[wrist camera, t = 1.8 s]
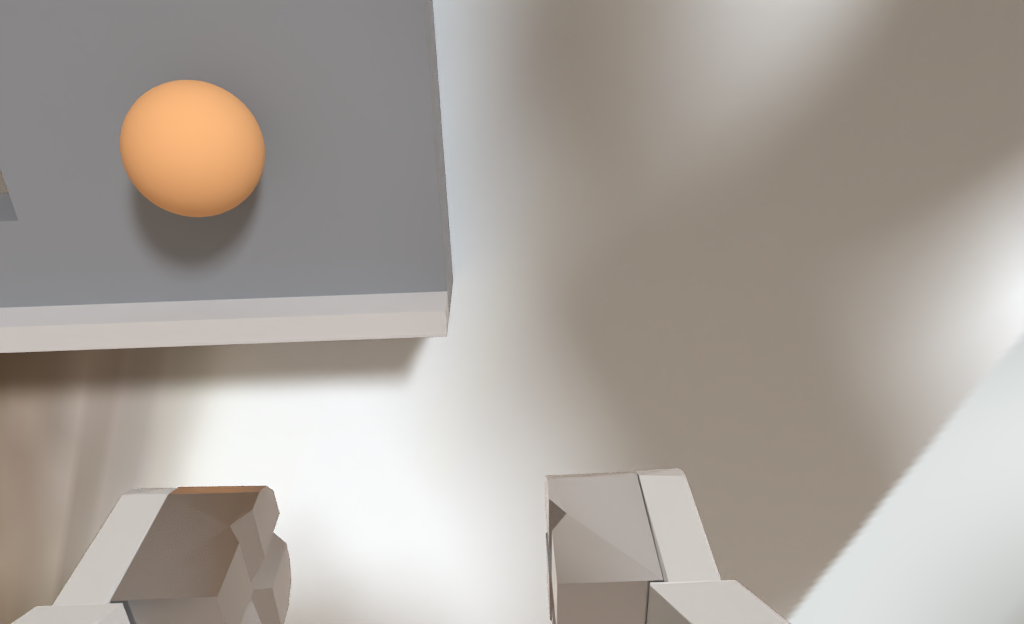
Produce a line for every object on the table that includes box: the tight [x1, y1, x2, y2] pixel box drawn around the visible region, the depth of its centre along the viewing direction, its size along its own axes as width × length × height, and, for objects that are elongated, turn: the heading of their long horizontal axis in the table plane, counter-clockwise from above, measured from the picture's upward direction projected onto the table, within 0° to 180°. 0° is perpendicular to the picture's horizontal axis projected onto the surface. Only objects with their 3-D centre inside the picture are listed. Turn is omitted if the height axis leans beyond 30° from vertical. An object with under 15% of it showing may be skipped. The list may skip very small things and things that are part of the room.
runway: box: [0, 0, 453, 353], centre depth 25 cm, size 22×14×4 cm, turn 92°
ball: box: [120, 80, 265, 217], centre depth 23 cm, size 4×4×4 cm
